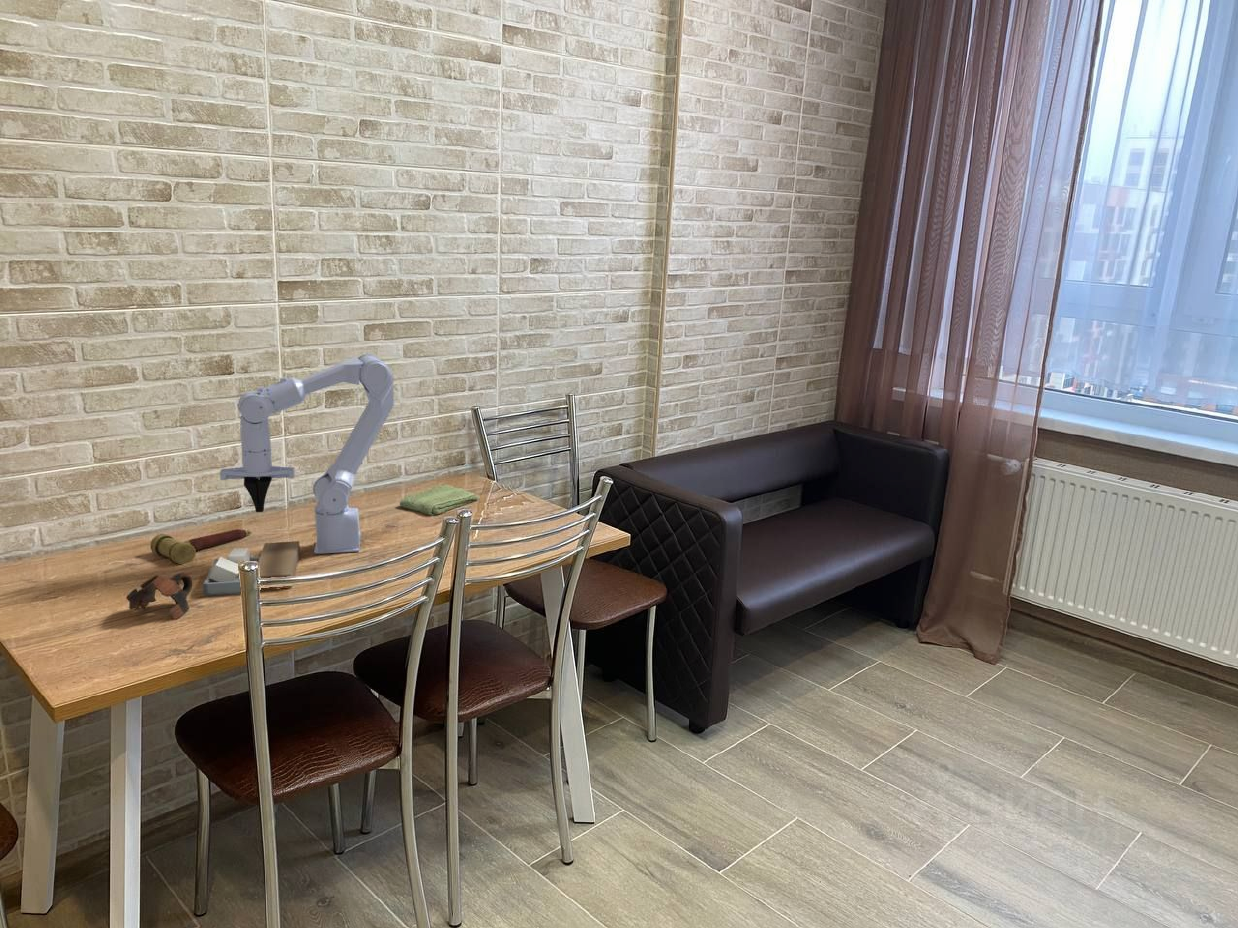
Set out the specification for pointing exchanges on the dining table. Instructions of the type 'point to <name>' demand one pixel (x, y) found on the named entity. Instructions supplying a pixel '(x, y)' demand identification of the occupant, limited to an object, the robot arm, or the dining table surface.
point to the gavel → (191, 544)
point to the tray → (222, 584)
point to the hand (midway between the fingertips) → (260, 510)
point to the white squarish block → (224, 571)
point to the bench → (279, 560)
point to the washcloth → (438, 500)
